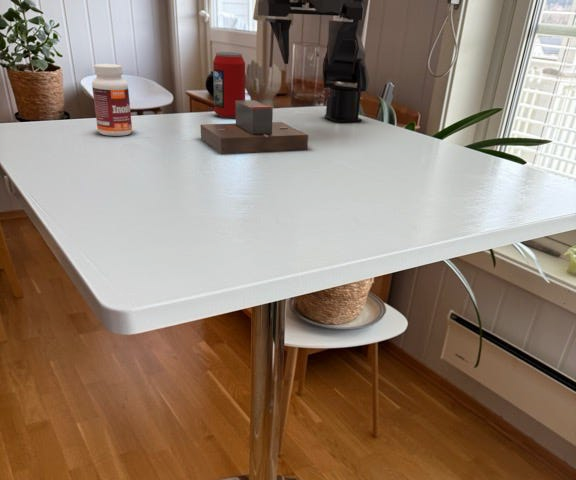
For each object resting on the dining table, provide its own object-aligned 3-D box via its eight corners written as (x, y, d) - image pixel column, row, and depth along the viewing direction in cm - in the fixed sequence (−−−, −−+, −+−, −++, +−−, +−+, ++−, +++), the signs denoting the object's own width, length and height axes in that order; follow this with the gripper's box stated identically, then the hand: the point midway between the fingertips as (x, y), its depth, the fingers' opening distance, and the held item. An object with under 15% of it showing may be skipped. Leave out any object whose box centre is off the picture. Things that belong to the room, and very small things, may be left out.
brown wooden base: (279, 135, 109) (280, 120, 108) (308, 150, 99) (309, 134, 98) (200, 138, 104) (199, 122, 102) (222, 154, 94) (221, 137, 92)
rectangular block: (235, 124, 103) (235, 98, 100) (254, 124, 104) (254, 98, 102) (252, 134, 96) (253, 107, 94) (272, 133, 97) (273, 106, 95)
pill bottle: (118, 138, 101) (110, 68, 95) (90, 133, 103) (81, 64, 96) (139, 132, 106) (133, 65, 99) (112, 128, 107) (104, 62, 101)
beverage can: (215, 112, 127) (213, 51, 120) (245, 114, 127) (245, 52, 120) (213, 118, 121) (211, 53, 114) (244, 119, 122) (244, 55, 115)
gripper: (283, -46, 87) (279, 68, 96) (385, -37, 94) (373, 69, 103) (257, -44, 96) (256, 61, 105) (353, -36, 102) (344, 62, 111)
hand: (308, 64), depth 106 cm, fingers open, 9 cm apart
